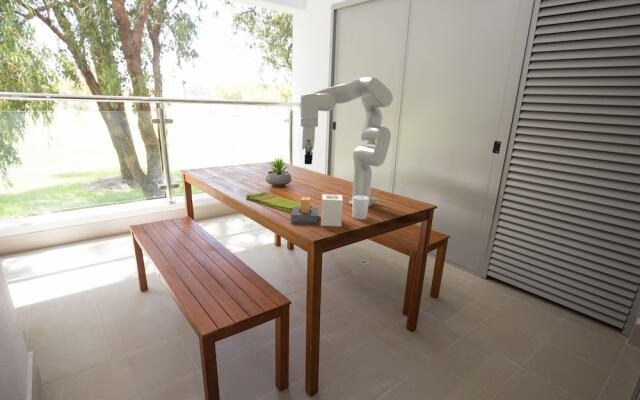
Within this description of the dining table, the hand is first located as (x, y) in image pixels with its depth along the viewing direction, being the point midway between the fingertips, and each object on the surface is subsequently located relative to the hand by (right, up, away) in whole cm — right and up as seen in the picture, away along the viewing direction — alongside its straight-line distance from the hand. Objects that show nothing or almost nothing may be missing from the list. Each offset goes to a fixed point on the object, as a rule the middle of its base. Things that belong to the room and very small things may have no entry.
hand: (308, 162), depth 147 cm
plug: (-2, -25, +5) cm, 26 cm away
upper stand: (+10, -27, +2) cm, 29 cm away
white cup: (+24, -26, +11) cm, 37 cm away
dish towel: (-17, -19, +28) cm, 38 cm away
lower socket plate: (-2, -26, +5) cm, 27 cm away
